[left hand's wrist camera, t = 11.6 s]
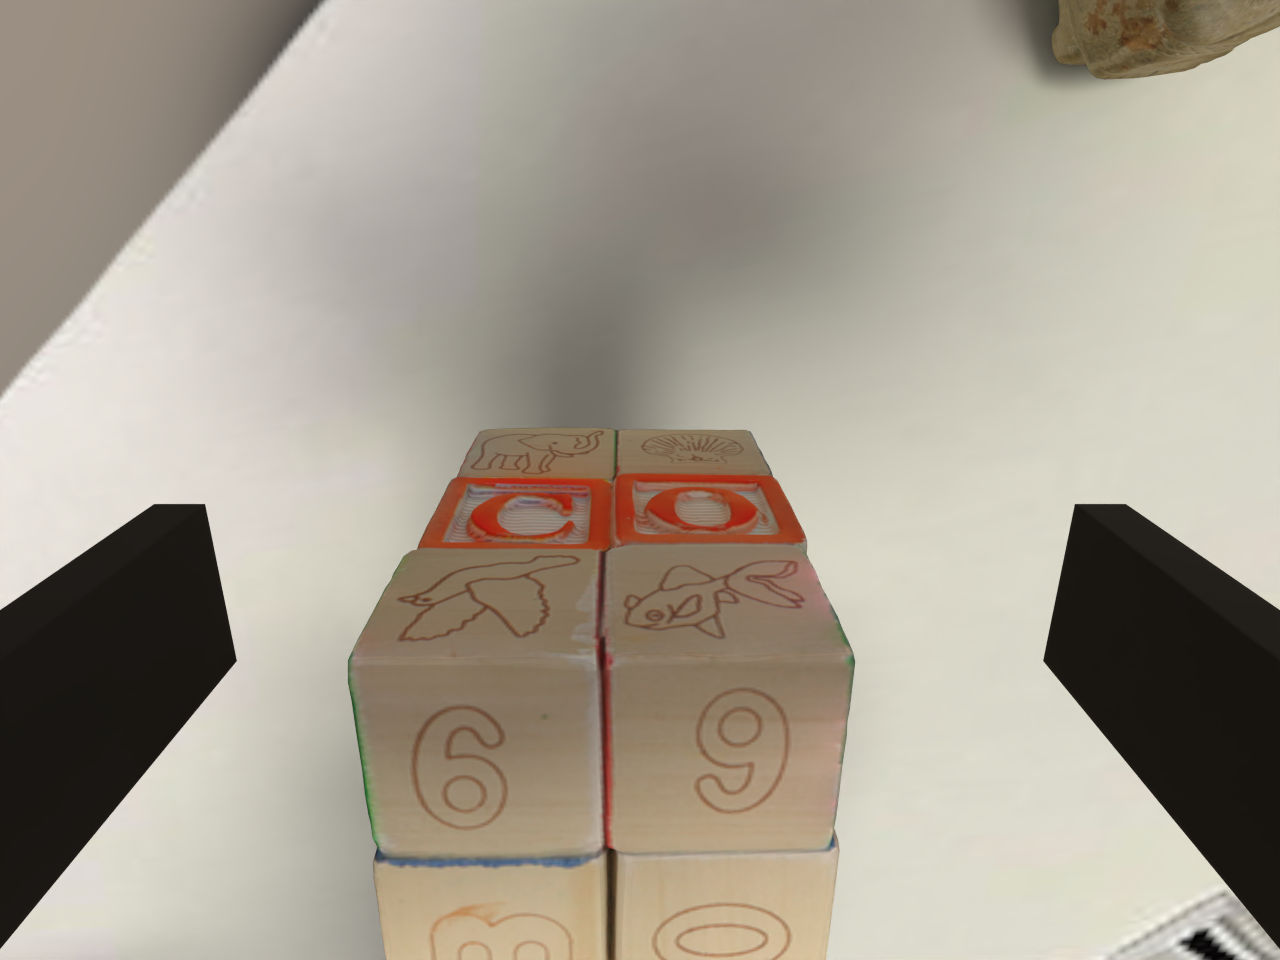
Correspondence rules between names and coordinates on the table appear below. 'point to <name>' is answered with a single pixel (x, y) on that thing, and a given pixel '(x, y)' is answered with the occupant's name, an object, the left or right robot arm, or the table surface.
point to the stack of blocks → (605, 709)
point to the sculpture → (1155, 33)
